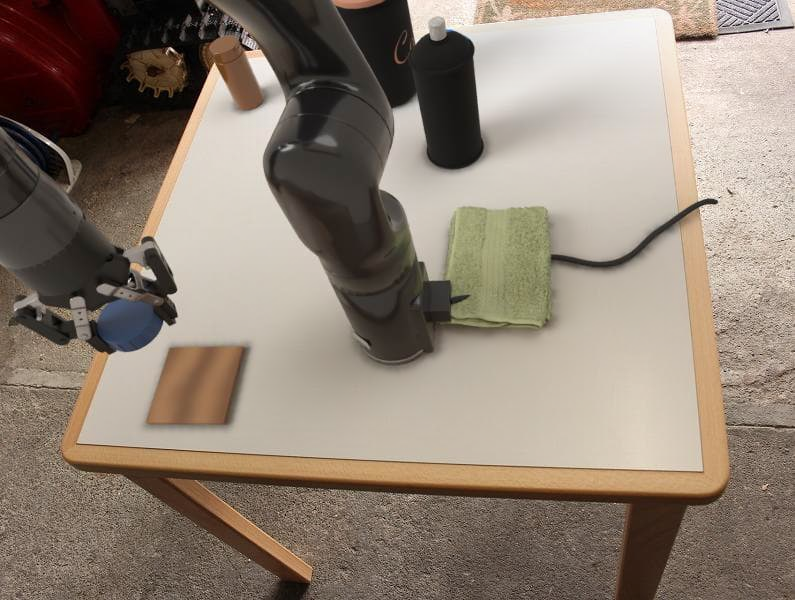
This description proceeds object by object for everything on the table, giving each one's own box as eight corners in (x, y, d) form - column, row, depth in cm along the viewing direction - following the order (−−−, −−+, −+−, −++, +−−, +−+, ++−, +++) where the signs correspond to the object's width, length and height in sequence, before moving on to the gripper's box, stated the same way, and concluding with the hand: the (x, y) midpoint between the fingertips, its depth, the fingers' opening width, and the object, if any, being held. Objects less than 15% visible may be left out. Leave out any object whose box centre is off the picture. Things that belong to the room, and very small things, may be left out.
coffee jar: (416, 111, 94) (393, 0, 79) (350, 112, 97) (317, 5, 82) (427, 66, 99) (408, -45, 85) (365, 69, 102) (336, -39, 87)
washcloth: (437, 332, 71) (433, 317, 69) (452, 216, 81) (449, 200, 78) (552, 336, 68) (553, 321, 66) (554, 215, 78) (555, 198, 75)
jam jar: (266, 89, 104) (241, 32, 95) (261, 108, 102) (235, 51, 93) (239, 92, 105) (212, 36, 96) (233, 112, 102) (205, 56, 94)
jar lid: (126, 298, 65) (115, 287, 63) (174, 305, 63) (164, 295, 62) (97, 347, 62) (85, 337, 60) (146, 357, 60) (135, 347, 59)
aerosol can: (475, 172, 84) (460, 44, 68) (419, 166, 87) (392, 41, 71) (490, 131, 88) (479, 0, 72) (436, 127, 91) (413, 0, 75)
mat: (245, 348, 75) (243, 345, 75) (226, 424, 70) (223, 422, 69) (171, 349, 77) (169, 347, 77) (147, 424, 72) (145, 422, 72)
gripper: (-50, 301, 47) (82, 392, 61) (124, 221, 48) (215, 328, 62) (-50, 237, 51) (73, 336, 65) (110, 165, 53) (198, 277, 66)
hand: (142, 332), depth 64 cm, fingers closed on jar lid, 6 cm apart
